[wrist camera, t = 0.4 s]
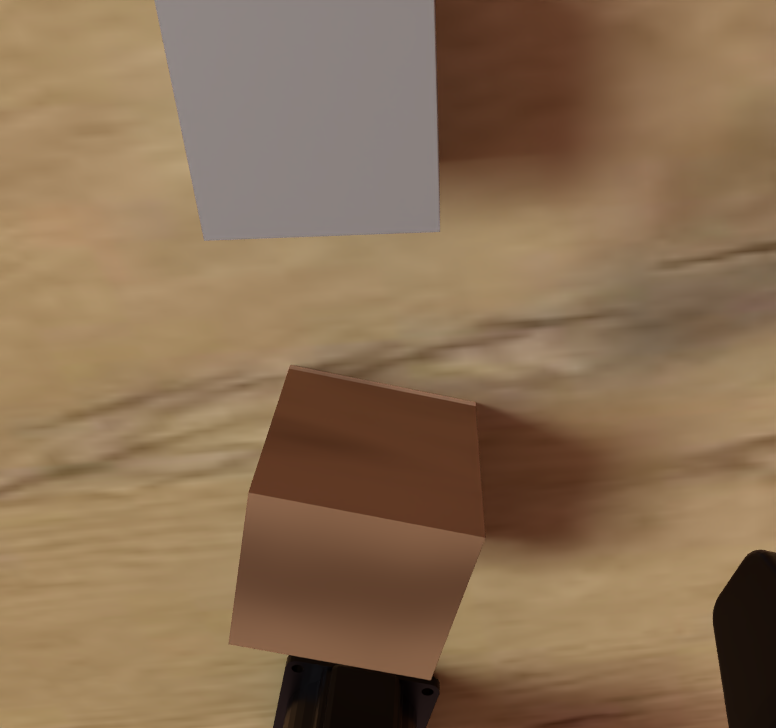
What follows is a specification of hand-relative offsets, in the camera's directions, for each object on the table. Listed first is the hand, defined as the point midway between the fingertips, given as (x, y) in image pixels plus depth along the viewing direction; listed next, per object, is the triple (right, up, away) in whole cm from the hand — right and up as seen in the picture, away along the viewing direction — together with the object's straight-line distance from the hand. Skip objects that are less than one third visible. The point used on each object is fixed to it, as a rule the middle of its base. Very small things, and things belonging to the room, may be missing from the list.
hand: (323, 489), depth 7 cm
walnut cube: (0, -2, +17) cm, 17 cm away
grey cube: (-1, +9, +11) cm, 14 cm away
